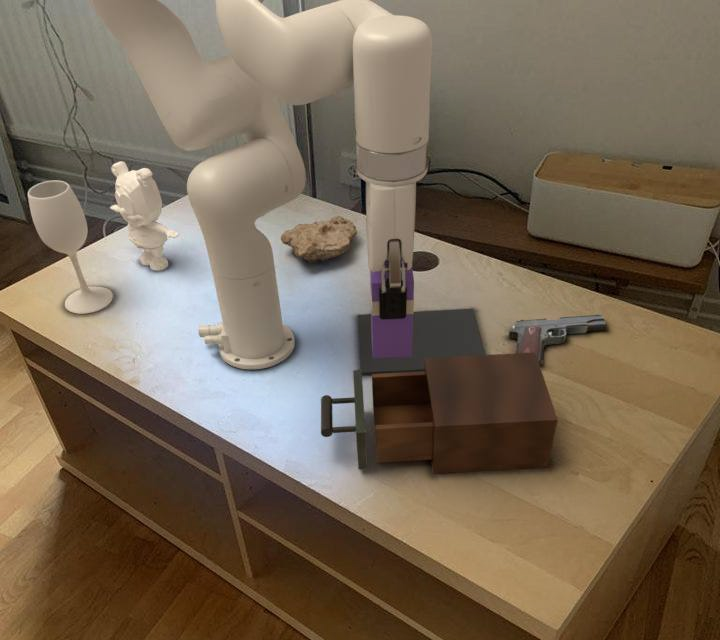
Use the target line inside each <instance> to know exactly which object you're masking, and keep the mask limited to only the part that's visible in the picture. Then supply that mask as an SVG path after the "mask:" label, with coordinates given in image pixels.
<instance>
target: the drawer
mask: <svg viewBox="0 0 720 640" xmlns="http://www.w3.org/2000/svg"><path fill="white" fill-rule="evenodd" d="M352 372H353V373H352V375H353V376H352V377H353V394H354V395H353V397H336V398H334V397H332V396H331V395H330V394H329V395H328V394H325V395H322V396H321V398H320V434H321V436H322V437H324V438H330V437H332V435H334V434H341V433H355V436H356V453H357V455H356V456H357V469H358V470H367V469H368V460H367V459H368V458H367V441H366V440H367V439H366V424H365V423H366V421H365V419H366V418H365V403H364V389H363V388H364V385H363V375H362V370H361V369H353V370H352ZM371 392H372V394H371V395H372V413H373V429H374V442H375V455H376V463H390V462H391V463H393V462H410V461H431V459H433V441H434V423H433V416H432V410H431V403H430V397H429V390H428V384H427V378H426V371H421V372H402V373H384V374H372V375H371ZM340 404H341V405H342V404H343V405H344V404H354V417H355V418H354V419H355V425H349V426H348V425H347V426H346V425H345V426H334V425H333V420H334V419H333V405H340Z"/></svg>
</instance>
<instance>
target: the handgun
mask: <svg viewBox="0 0 720 640" xmlns="http://www.w3.org/2000/svg"><path fill="white" fill-rule="evenodd" d="M605 320H606V319H605V317H604V315H603V314H595V315H594V314H592V315H579V316H563V317H561V316H560V317H559V319H547V318H538V319H526V320H525V319H520V320H516V321H515V323H514V325H511V329H509V331H508V337H507V338H508V339H514V340H516V346H515V347H516V351H515V353H532V352H535V353H536V356H537V359H538V362H539V365H543V364H544V363H545V360H543V359H544V358H543V357H544V347H545V346H547V345H558V344H563V343H564V342H565V341H566V338H567V335H573V334H575V335H576V334H577V335H578V334H587V332H591V331H592V332H594V331H604V330H606V327H607V324H606V321H605Z"/></svg>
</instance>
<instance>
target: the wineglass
mask: <svg viewBox="0 0 720 640" xmlns="http://www.w3.org/2000/svg"><path fill="white" fill-rule="evenodd" d="M27 199H28V200H27V201H28V206H29V211H30V215H31V218H32V222H33V225H34V227H35V230H36V232H37V234H38V236H39V238H40V240H41V241H42V242H43V244H45V245H46V246H47V247H48V248H50V249H51V250H53V251H56V252H57V253H61V254H65V255H66V256H68V257H69V259H70V261H71V264H72V266H73V268H74V271H75V274H76V277H77V280H78V284H79V286H80V289H77V290H75V291H74V292H72V293H71V294H69V296H67V297H66V299H65V300H64V308H65V309H66V310H67V311H69V313H73V314H77V315H84V314H92V313H95V312H98V311H101V310H103V309H104V308H106V307H107V306H108V305H110V303H112V301H113V299H114V293H113V292H112V291H111V290H110V288H109V289H108V288H106V287H103V286H88V283H87V281H86V279H85V277H84V275H83V271H82V269H81V266H80V263H79V260H78V255H77V253H78V251H79V250H80V249H81V248H82V247H83V246H84V244H85V243H86V240H87V237H88V231H89V228H88V223H87V219H86V216H85V212H84V210H83V208H82V205H81V203H80V201H79V199H78V198H77V196H76V194H75V192H74V190H73V189H72V187H71V185H70V184H69V183H67V182H66V181H64V180H57V179H56V180H53V179H52V180H46V181H42V182H40V183H36V184H35V185H33V186H32V187H30V188H29V189H28V191H27Z"/></svg>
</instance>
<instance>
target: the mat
mask: <svg viewBox="0 0 720 640" xmlns="http://www.w3.org/2000/svg"><path fill="white" fill-rule="evenodd" d="M357 331H358V349H359V366H360V369H359V370H362V376H372V374H384V373H402V372H421V371H424V359H425V358H440V357H459V356H477V355H485V351H484V348H483V344H482V340H481V336H480V331H479V328H478V324H477V320H476V315H475V312H474V309H473V308H457V309H438V310H419V311H414V312H413V338H412V357H393V358H373V351H372V332H371V313H367V314H364V313H363V314H357Z"/></svg>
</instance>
